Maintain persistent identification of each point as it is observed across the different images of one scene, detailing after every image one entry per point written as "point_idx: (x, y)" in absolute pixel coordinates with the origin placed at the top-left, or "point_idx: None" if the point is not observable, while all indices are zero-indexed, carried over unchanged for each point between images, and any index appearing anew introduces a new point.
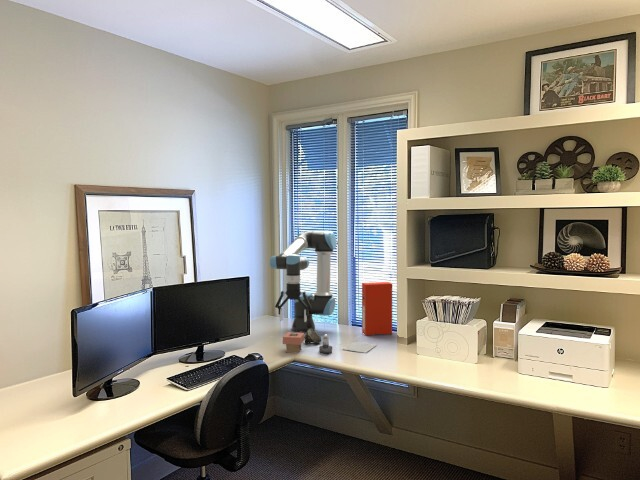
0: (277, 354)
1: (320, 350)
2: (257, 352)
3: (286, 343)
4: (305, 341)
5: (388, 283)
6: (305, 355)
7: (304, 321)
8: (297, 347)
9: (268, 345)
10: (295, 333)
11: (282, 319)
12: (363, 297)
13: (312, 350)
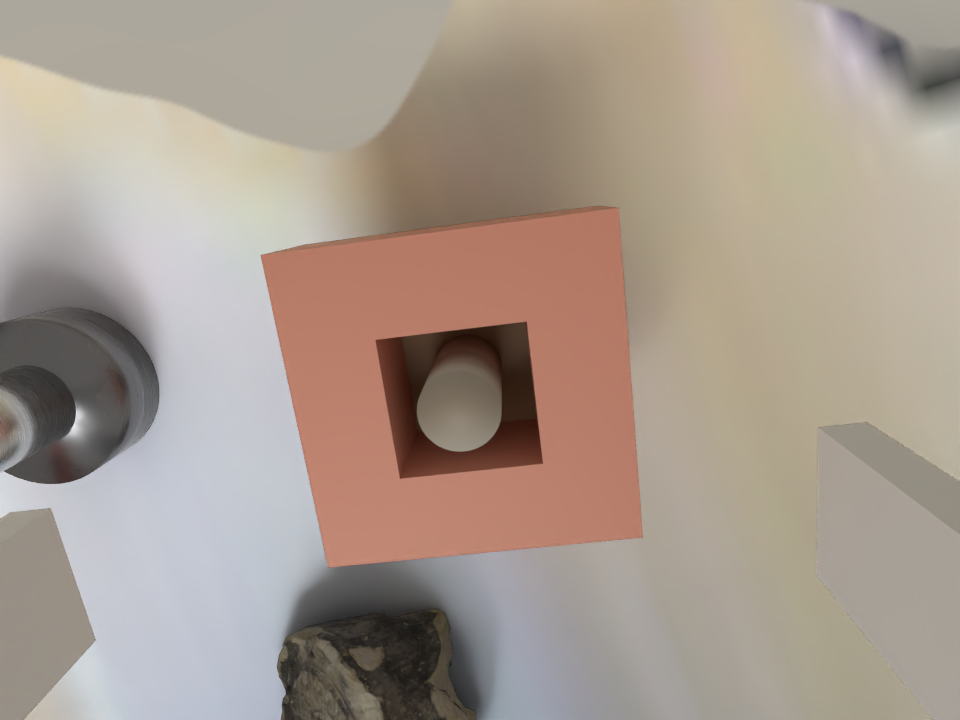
0: (628, 123)
1: (92, 331)
2: (937, 122)
3: (533, 214)
4: (430, 631)
5: None
6: (259, 198)
7: (36, 515)
8: None
9: None
10: (426, 421)
11: (826, 544)
12: None
13: (264, 417)
